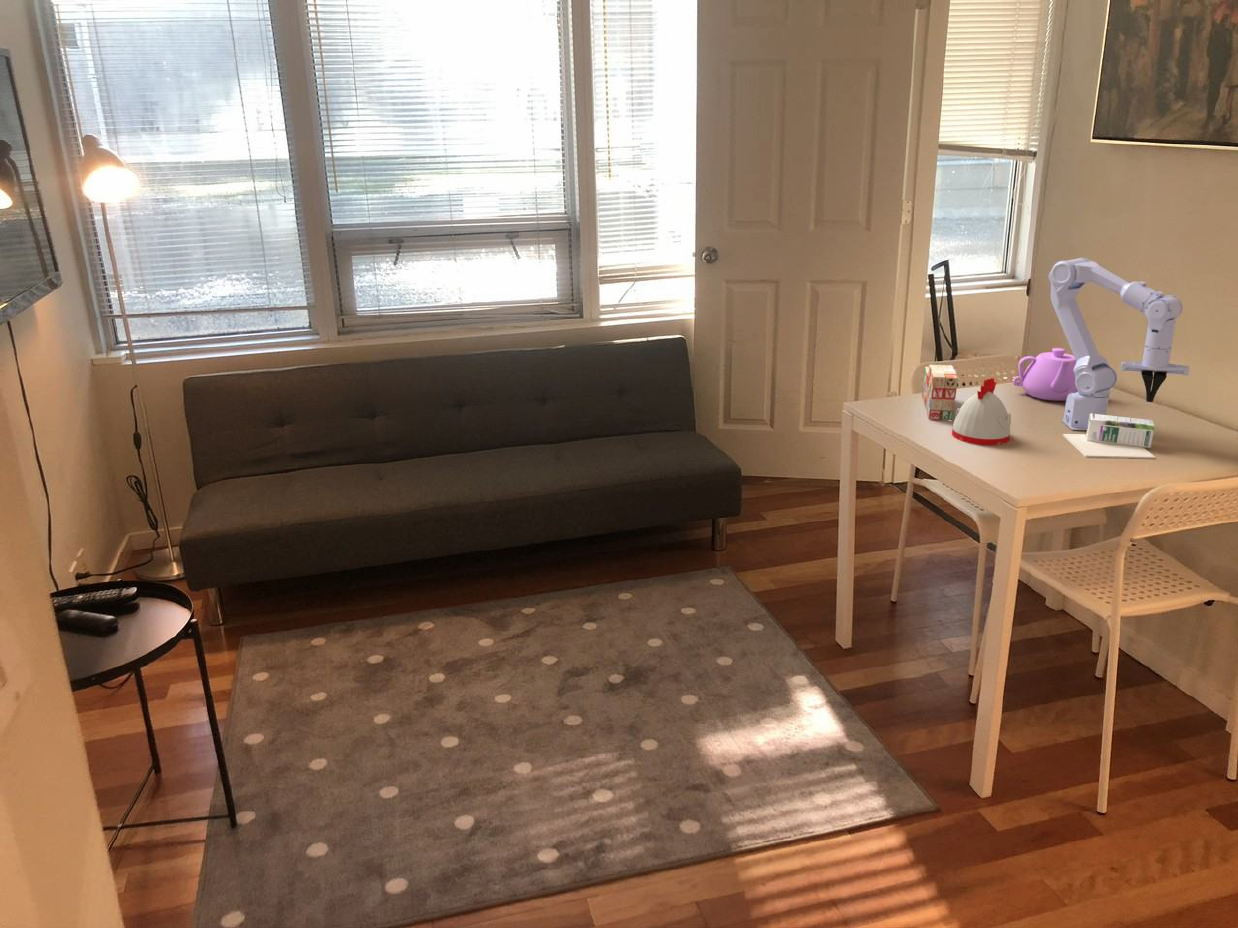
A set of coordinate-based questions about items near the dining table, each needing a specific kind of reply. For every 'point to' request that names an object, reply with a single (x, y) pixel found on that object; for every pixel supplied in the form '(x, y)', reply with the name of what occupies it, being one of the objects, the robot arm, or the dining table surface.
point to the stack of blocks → (939, 391)
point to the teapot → (1048, 375)
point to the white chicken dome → (983, 418)
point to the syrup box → (1120, 430)
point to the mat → (1106, 448)
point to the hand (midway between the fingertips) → (1149, 401)
